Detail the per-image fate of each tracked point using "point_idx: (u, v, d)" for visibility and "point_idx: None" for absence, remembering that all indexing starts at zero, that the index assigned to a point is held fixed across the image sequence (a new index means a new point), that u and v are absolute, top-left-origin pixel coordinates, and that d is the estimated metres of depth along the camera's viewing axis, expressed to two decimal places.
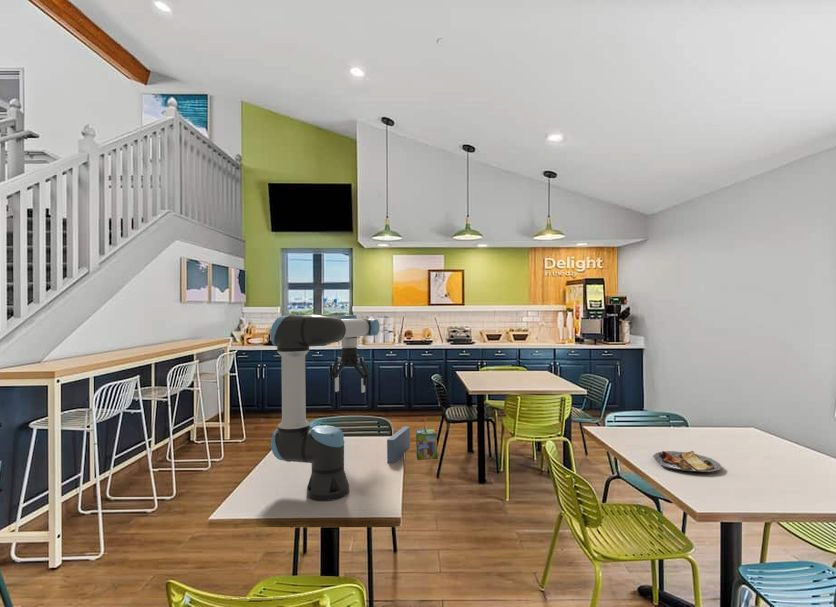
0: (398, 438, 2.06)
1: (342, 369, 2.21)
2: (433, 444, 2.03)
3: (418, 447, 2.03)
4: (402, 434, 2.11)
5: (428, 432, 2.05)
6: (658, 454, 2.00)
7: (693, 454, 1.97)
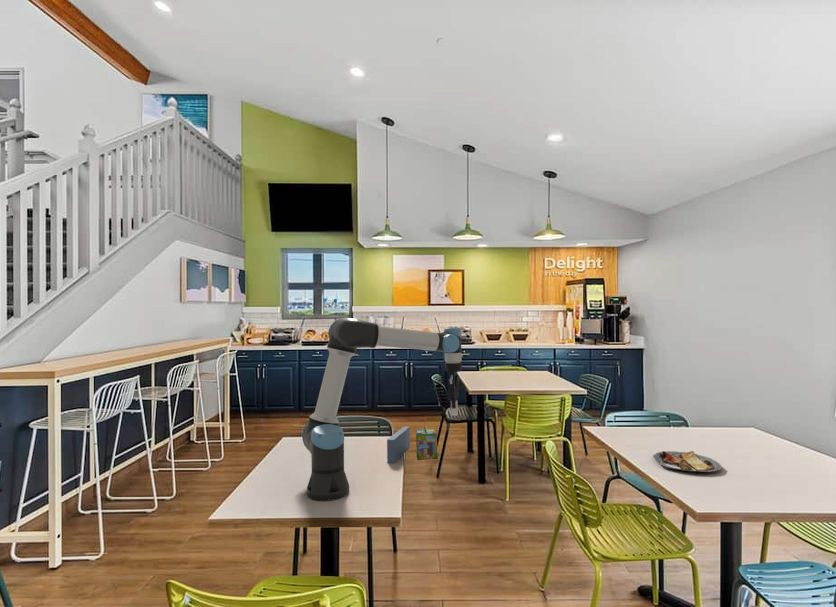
0: (398, 438, 2.06)
1: (456, 388, 2.05)
2: (433, 444, 2.03)
3: (418, 447, 2.03)
4: (402, 434, 2.11)
5: (428, 432, 2.05)
6: (658, 454, 2.00)
7: (693, 454, 1.97)
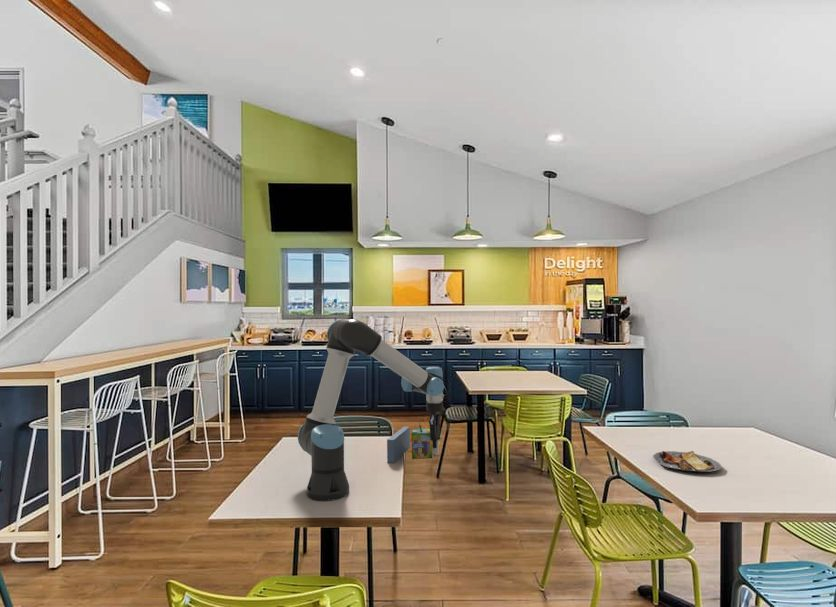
0: (398, 438, 2.06)
1: (437, 427, 2.07)
2: (427, 443, 2.04)
3: (413, 446, 2.04)
4: (402, 434, 2.11)
5: (423, 431, 2.06)
6: (658, 454, 2.00)
7: (693, 454, 1.97)
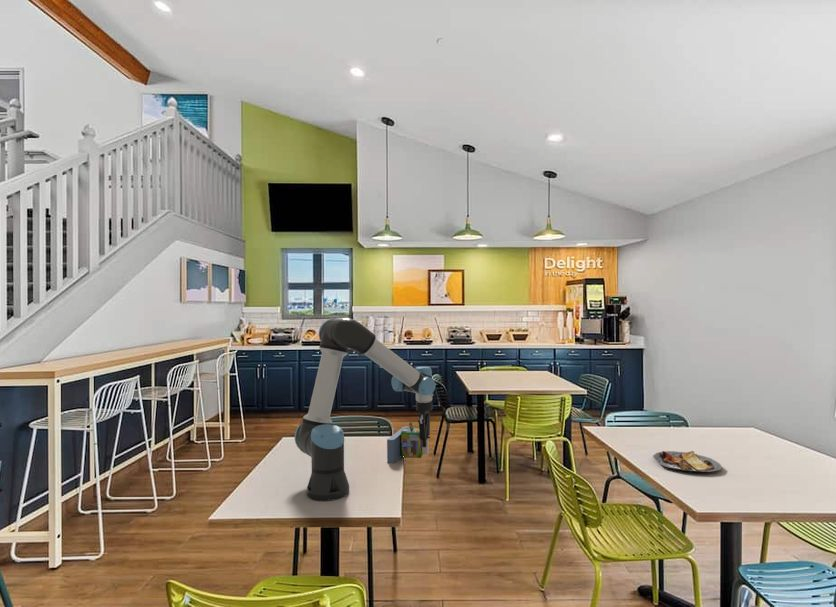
0: (398, 438, 2.06)
1: (427, 426, 2.08)
2: (416, 443, 2.05)
3: (402, 445, 2.06)
4: None
5: (413, 431, 2.08)
6: (658, 454, 2.00)
7: (693, 454, 1.97)
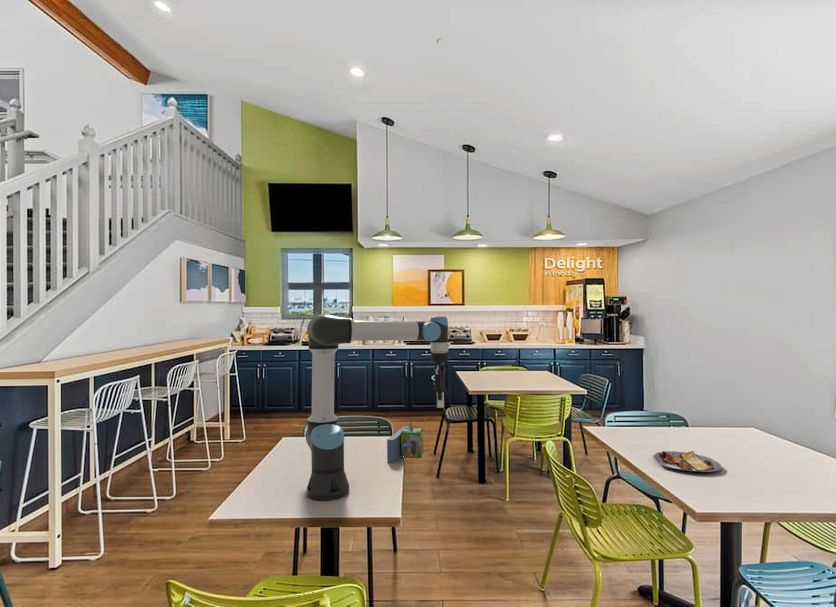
0: (398, 438, 2.06)
1: None
2: (416, 443, 2.05)
3: (402, 445, 2.06)
4: None
5: (413, 431, 2.07)
6: (658, 454, 2.00)
7: (693, 454, 1.97)
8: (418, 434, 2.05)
